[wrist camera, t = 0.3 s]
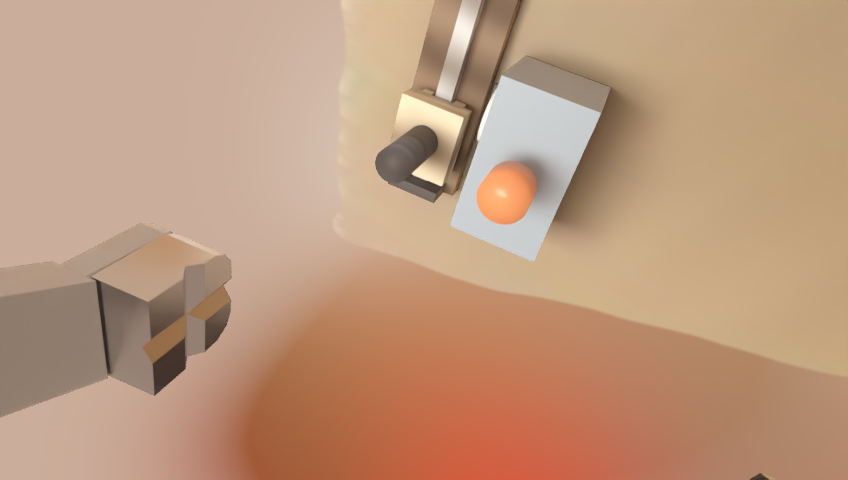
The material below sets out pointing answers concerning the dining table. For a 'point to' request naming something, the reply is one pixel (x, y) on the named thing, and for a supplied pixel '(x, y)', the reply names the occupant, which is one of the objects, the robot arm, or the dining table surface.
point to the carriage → (424, 138)
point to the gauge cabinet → (531, 147)
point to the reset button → (506, 192)
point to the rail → (461, 69)
